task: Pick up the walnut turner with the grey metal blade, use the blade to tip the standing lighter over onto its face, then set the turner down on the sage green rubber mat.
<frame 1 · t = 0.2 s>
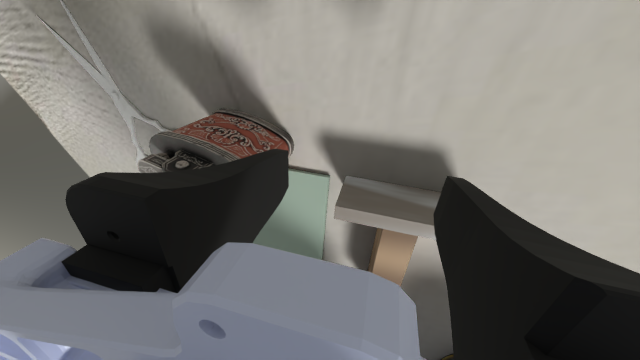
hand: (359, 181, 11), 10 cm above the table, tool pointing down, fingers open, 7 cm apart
lighter: (255, 132, 23), on the table
tool mat: (269, 223, 28), on the table
scissors: (129, 100, 26), on the table
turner: (390, 230, 24), on the table
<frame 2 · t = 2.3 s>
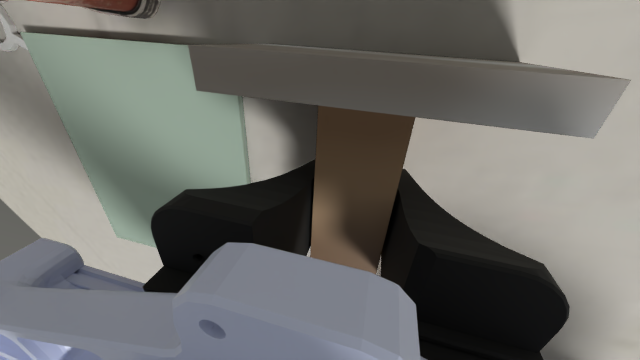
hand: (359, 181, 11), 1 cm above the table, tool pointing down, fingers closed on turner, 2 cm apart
tool mat: (161, 169, 16), on the table
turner: (362, 168, 13), on the table, touching gripper
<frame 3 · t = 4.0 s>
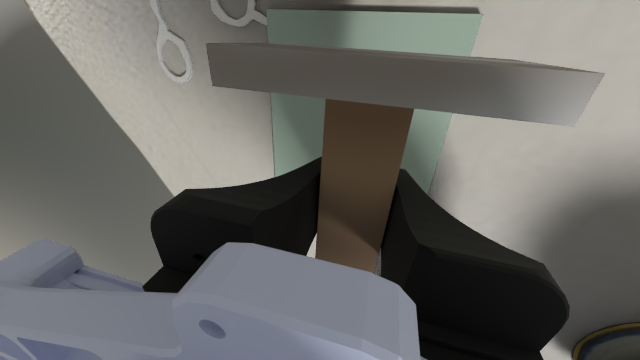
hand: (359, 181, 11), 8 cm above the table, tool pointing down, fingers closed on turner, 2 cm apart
tool mat: (352, 129, 19), on the table
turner: (364, 161, 13), point 6 cm above the table, touching gripper
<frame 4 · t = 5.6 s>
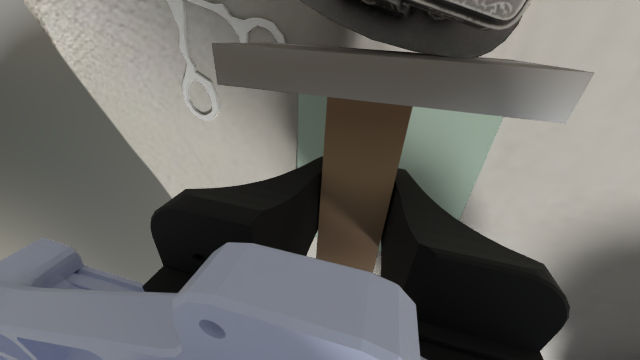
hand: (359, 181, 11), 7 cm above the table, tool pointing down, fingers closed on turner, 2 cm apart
lighter: (393, 8, 14), on the table, touching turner
tool mat: (378, 173, 19), on the table
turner: (365, 159, 14), point 5 cm above the table, touching gripper, lighter
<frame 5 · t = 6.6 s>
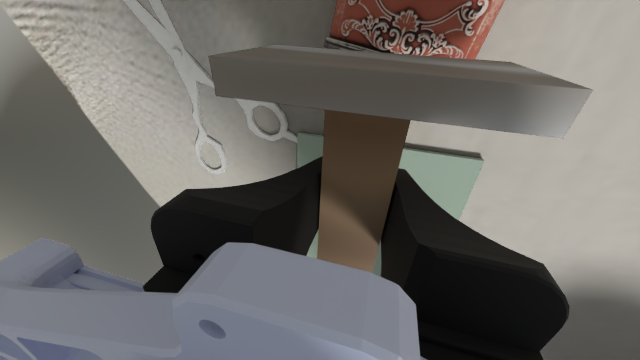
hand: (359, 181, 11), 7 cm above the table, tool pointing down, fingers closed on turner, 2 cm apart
lighter: (388, 75, 14), point 2 cm above the table
tool mat: (368, 224, 22), on the table
scissors: (193, 61, 19), on the table
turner: (364, 160, 14), point 5 cm above the table, touching gripper
when the fingers open (3 cm above the table, at t = 9.2 s): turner stays where it is, resting on tool mat.
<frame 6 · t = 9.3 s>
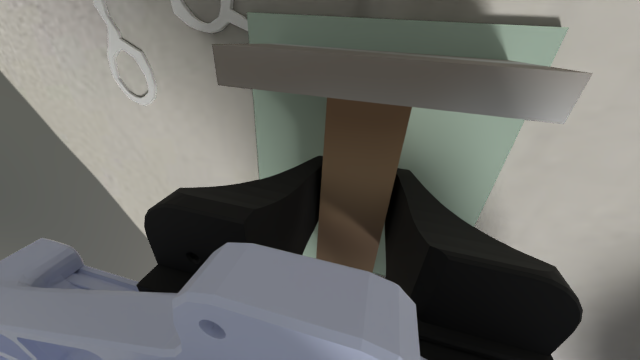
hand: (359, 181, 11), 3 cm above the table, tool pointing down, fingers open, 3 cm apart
tool mat: (363, 172, 14), on the table
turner: (364, 159, 14), resting on tool mat
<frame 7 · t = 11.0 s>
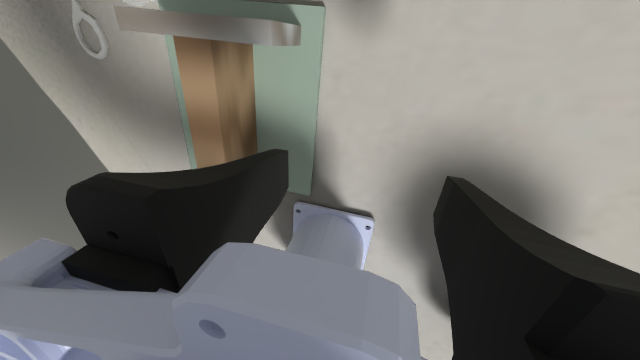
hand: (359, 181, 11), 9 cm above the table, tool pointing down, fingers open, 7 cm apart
tool mat: (244, 106, 21), on the table
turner: (241, 95, 21), resting on tool mat
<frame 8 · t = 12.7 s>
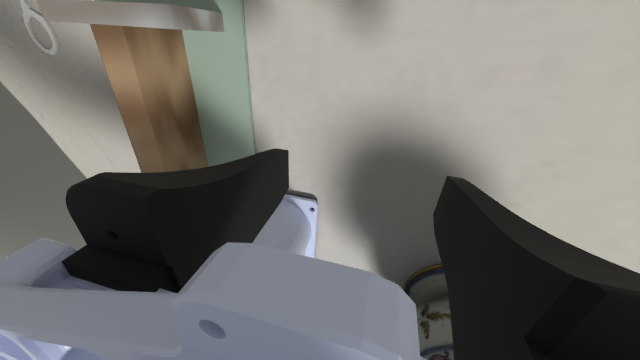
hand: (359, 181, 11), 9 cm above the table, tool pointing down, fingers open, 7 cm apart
tool mat: (185, 94, 22), on the table
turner: (179, 83, 22), resting on tool mat
apothecary jar: (452, 295, 26), on the table
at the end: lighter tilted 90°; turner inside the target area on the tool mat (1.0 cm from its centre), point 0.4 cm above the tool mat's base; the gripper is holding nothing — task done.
